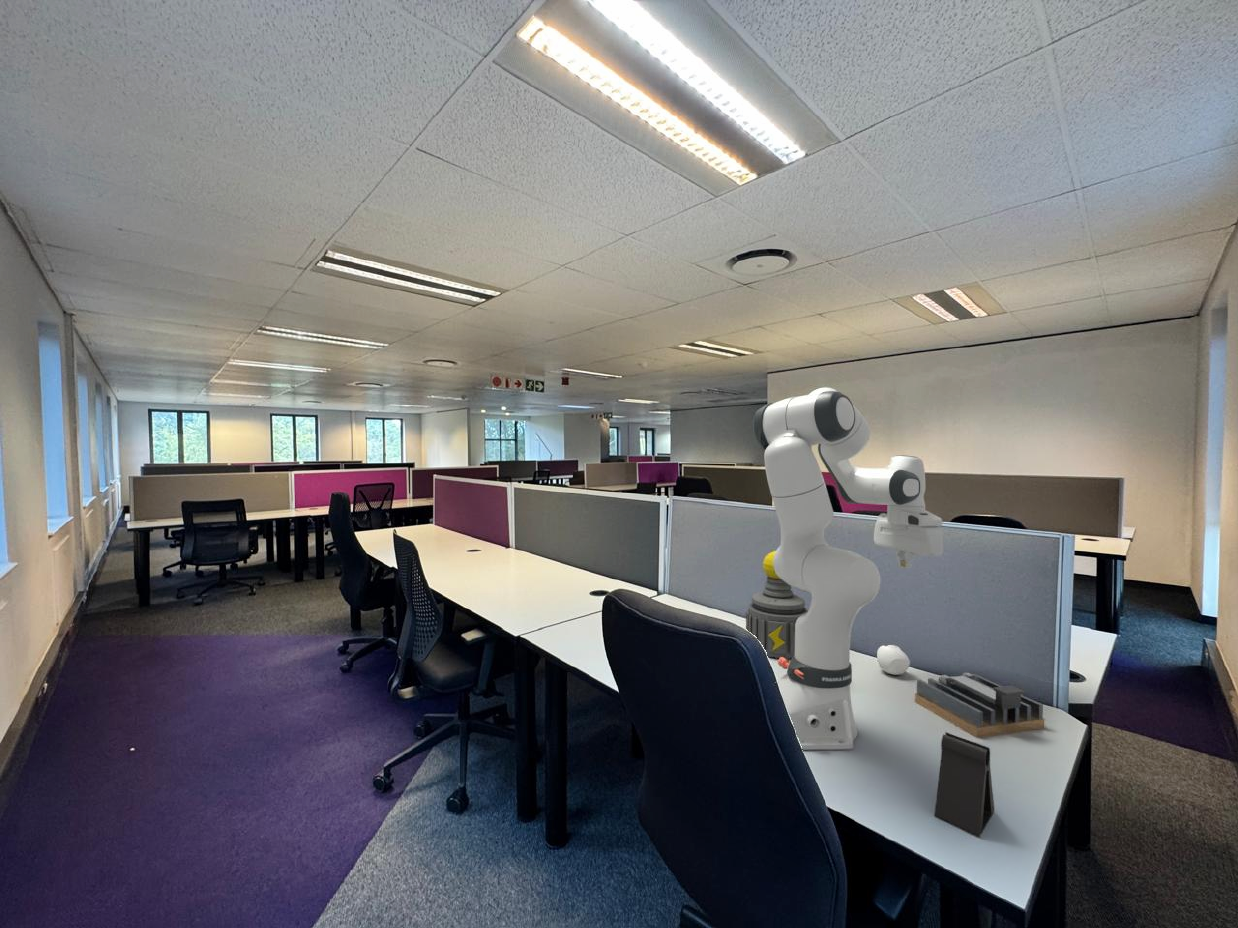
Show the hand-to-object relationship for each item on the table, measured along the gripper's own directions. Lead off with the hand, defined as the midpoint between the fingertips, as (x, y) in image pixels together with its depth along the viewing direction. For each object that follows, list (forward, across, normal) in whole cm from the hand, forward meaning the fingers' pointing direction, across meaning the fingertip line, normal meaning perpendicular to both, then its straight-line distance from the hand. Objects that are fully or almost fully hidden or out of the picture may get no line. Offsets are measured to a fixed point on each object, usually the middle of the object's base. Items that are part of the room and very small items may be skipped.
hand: (905, 567), depth 134 cm
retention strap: (+24, +21, 0) cm, 32 cm away
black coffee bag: (+29, +47, -32) cm, 64 cm away
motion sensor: (+29, -2, -2) cm, 29 cm away
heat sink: (+29, +21, 0) cm, 36 cm away
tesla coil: (+29, -25, -23) cm, 45 cm away
